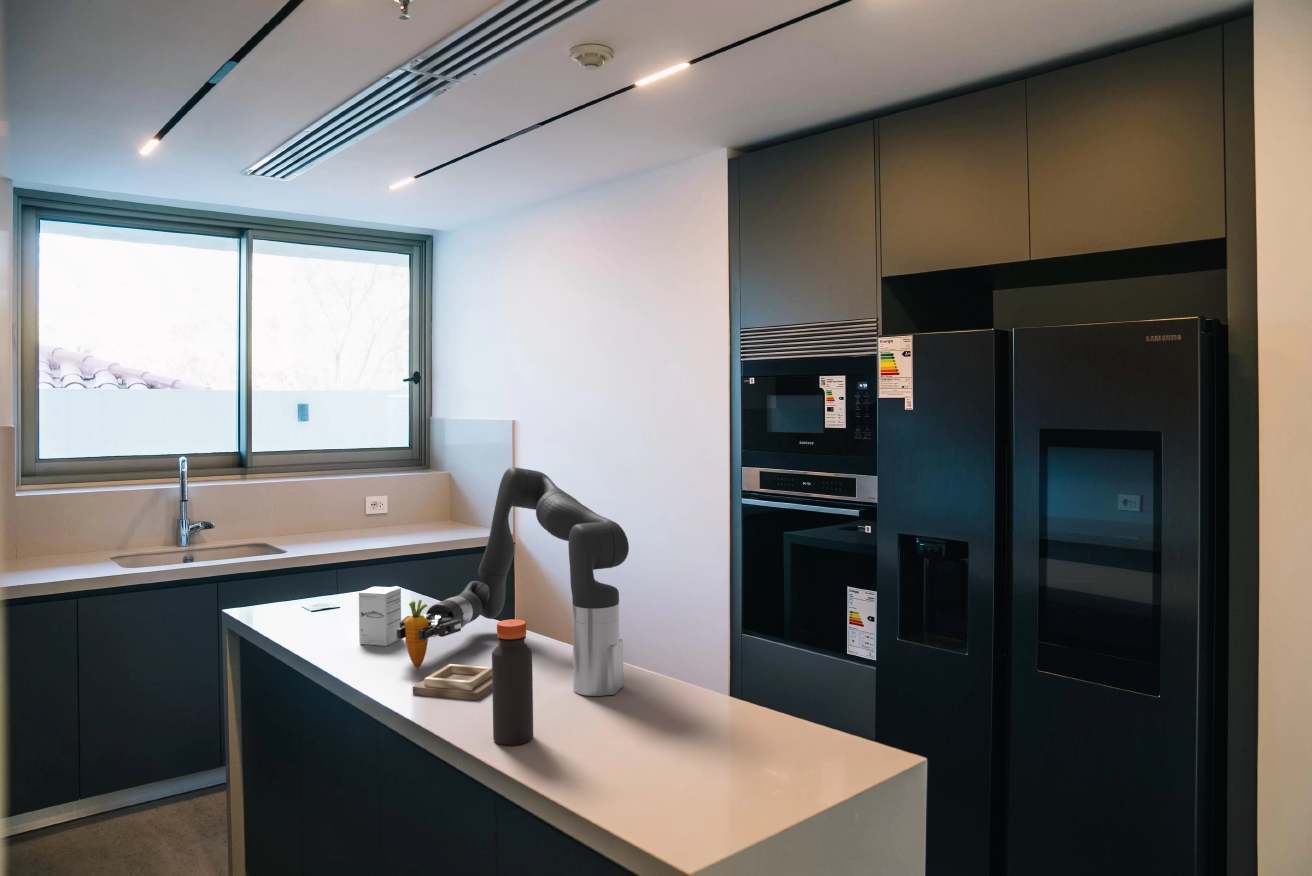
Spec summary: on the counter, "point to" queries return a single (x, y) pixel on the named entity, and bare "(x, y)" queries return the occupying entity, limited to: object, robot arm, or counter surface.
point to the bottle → (512, 685)
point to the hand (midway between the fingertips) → (410, 634)
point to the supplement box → (379, 615)
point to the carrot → (416, 634)
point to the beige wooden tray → (457, 682)
